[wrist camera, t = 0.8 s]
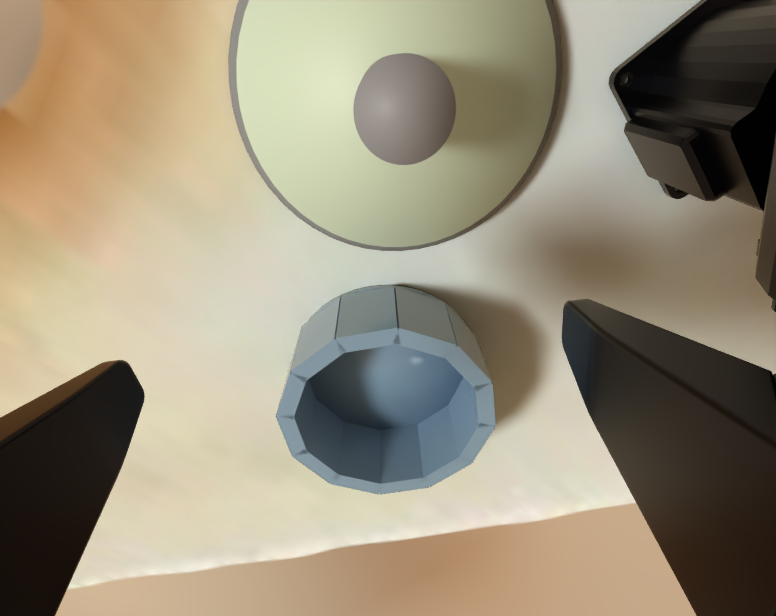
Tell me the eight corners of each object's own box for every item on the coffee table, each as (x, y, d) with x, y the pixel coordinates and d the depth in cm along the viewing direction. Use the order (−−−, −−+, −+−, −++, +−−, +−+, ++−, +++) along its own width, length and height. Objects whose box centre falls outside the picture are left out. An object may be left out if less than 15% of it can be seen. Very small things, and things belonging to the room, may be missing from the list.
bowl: (397, 245, 21) (403, 286, 17) (510, 371, 25) (534, 427, 21) (256, 357, 24) (233, 414, 20) (376, 454, 28) (376, 517, 24)
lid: (423, -212, 13) (450, -352, 9) (602, 117, 18) (681, 137, 13) (176, 77, 17) (102, 84, 12) (380, 288, 22) (382, 350, 17)
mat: (424, -240, 13) (426, -247, 13) (615, 117, 18) (619, 118, 18) (160, 75, 17) (157, 75, 17) (378, 298, 22) (378, 300, 22)
